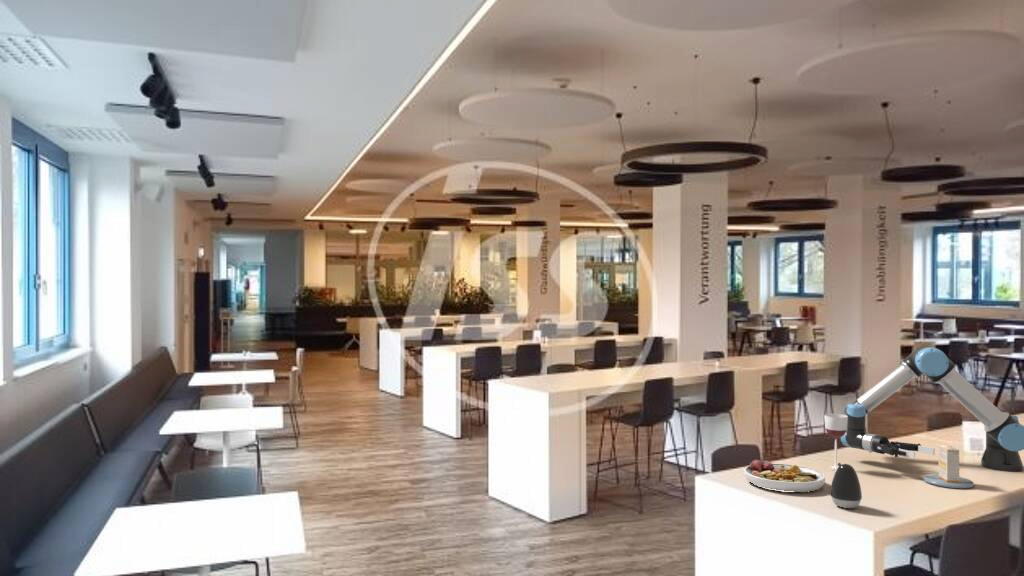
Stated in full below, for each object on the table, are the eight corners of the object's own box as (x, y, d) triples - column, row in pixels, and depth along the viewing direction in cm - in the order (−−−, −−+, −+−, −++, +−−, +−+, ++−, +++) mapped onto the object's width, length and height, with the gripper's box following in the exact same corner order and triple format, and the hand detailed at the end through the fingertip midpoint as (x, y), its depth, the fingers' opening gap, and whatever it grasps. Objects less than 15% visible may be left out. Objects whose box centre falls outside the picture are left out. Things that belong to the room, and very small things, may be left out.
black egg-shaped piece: (852, 502, 262) (852, 460, 262) (867, 511, 252) (867, 467, 252) (824, 502, 262) (824, 460, 262) (838, 511, 252) (838, 467, 252)
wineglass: (826, 471, 308) (826, 417, 308) (822, 465, 317) (822, 413, 318) (849, 472, 306) (850, 418, 306) (844, 466, 315) (845, 414, 315)
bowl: (838, 485, 286) (838, 465, 286) (803, 500, 265) (803, 479, 265) (766, 471, 308) (766, 453, 308) (729, 484, 287) (729, 464, 287)
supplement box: (960, 482, 284) (960, 449, 284) (946, 482, 285) (946, 449, 285) (950, 477, 293) (950, 445, 293) (937, 477, 293) (938, 444, 293)
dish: (939, 476, 300) (939, 472, 300) (982, 485, 286) (982, 482, 286) (914, 481, 292) (915, 477, 292) (958, 491, 277) (958, 487, 277)
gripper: (893, 449, 322) (941, 459, 303) (858, 455, 309) (906, 466, 291) (893, 432, 322) (941, 441, 303) (858, 438, 309) (906, 447, 291)
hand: (924, 453), depth 297 cm, fingers open, 13 cm apart
